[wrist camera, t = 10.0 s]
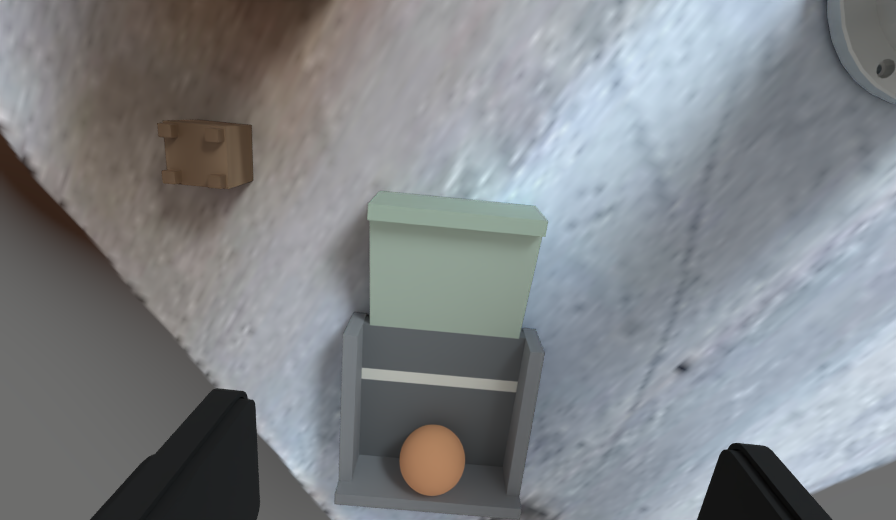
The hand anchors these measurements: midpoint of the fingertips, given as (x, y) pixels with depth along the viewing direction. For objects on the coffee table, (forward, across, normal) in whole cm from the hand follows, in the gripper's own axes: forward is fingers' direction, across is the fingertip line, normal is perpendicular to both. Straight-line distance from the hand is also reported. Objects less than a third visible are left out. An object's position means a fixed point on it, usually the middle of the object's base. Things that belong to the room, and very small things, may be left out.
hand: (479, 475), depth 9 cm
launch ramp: (+18, +1, +2) cm, 19 cm away
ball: (+16, +1, +14) cm, 21 cm away
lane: (+18, +1, +11) cm, 21 cm away
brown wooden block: (+18, +14, -3) cm, 23 cm away
